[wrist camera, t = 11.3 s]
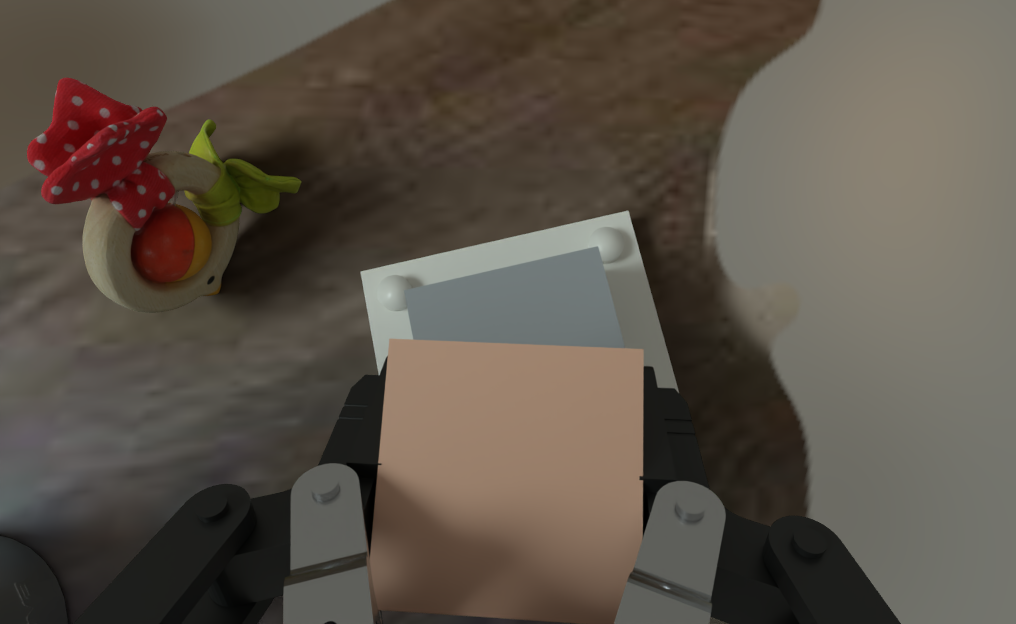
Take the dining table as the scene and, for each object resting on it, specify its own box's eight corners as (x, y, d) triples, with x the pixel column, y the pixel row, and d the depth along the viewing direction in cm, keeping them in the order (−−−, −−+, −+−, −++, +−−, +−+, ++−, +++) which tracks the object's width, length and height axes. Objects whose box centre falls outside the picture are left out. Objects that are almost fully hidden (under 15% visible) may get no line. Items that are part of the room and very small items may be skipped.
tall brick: (599, 548, 19) (641, 627, 11) (436, 539, 19) (365, 609, 11) (601, 384, 20) (643, 349, 12) (447, 377, 20) (389, 338, 12)
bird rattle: (287, 311, 32) (322, 139, 30) (120, 372, 22) (157, 111, 19) (181, 275, 33) (209, 105, 31) (-30, 316, 22) (-11, 60, 20)
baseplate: (416, 550, 28) (389, 576, 23) (367, 278, 30) (333, 246, 25) (698, 486, 28) (735, 498, 23) (624, 219, 30) (642, 175, 25)
